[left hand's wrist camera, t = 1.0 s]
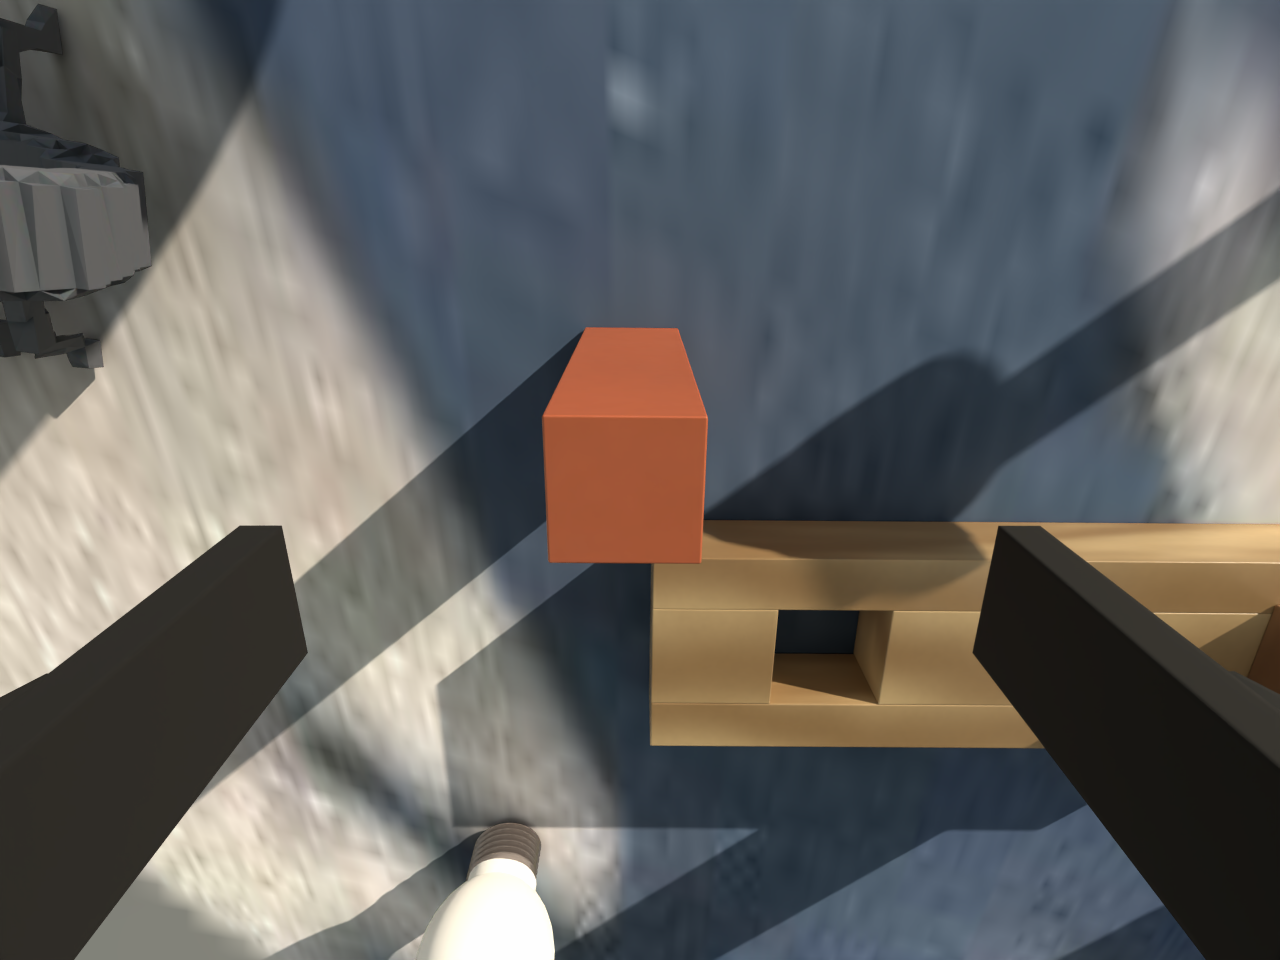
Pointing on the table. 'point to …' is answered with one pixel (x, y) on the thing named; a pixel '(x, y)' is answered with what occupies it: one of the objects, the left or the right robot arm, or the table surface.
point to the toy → (58, 213)
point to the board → (915, 625)
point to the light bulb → (494, 904)
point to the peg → (625, 452)
